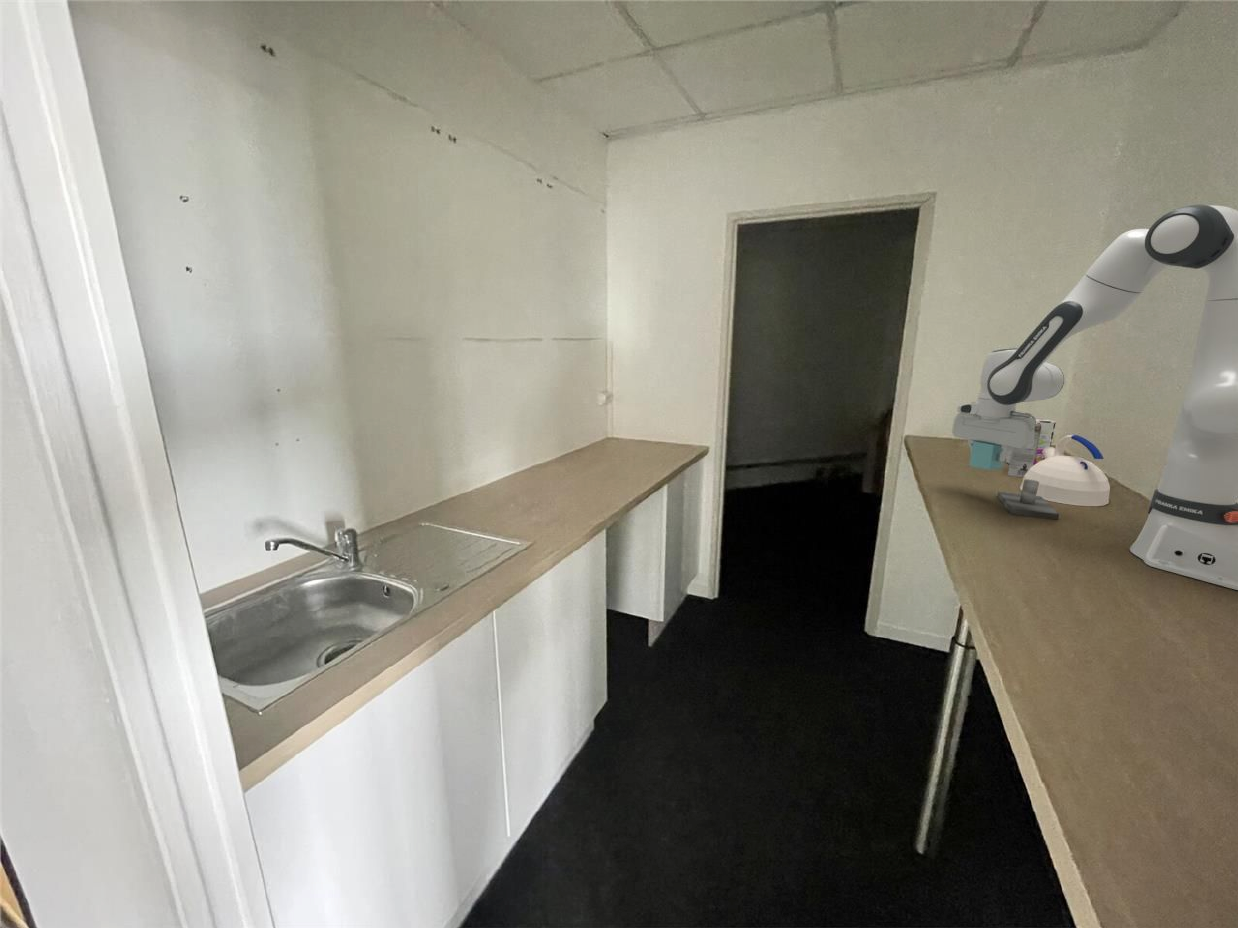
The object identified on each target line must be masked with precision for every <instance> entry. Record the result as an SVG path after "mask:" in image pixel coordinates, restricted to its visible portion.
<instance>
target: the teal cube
mask: <svg viewBox="0 0 1238 928" xmlns="http://www.w3.org/2000/svg"><path fill="white" fill-rule="evenodd" d="M1003 450H1004V449H1002V445H998V444H992V443H987V442H981V441H973V446H972V452H971V451H970V454H971V455H970V459H969V466H970V467H974V468H978V469H982V470H983V469H984V470H985V471H986V470H988V471H992V470H999V469H1003V468H1004V463H1005V461H1003V462H1001V461H996V455H997V454H1001V452H1002V451H1003Z"/></svg>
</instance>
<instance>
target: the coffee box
mask: <svg viewBox="0 0 1238 928" xmlns="http://www.w3.org/2000/svg"><path fill="white" fill-rule="evenodd" d="M1040 434H1041V426H1035V428H1034V444H1033V445H1032V446H1031V447H1030V448H1026V449H1020V448H1014V447H1013V448H1012V453H1011V458H1010V463H1009V464H1008V471H1007V476H1010V477H1015V478H1016V477H1019V478H1024V475H1025V474H1026V473H1027V472H1028V470H1029V469H1030V468H1031V467H1032V466H1033V465H1034V461H1035V456H1036V452H1037V448H1038V443H1039V438H1040Z"/></svg>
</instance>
